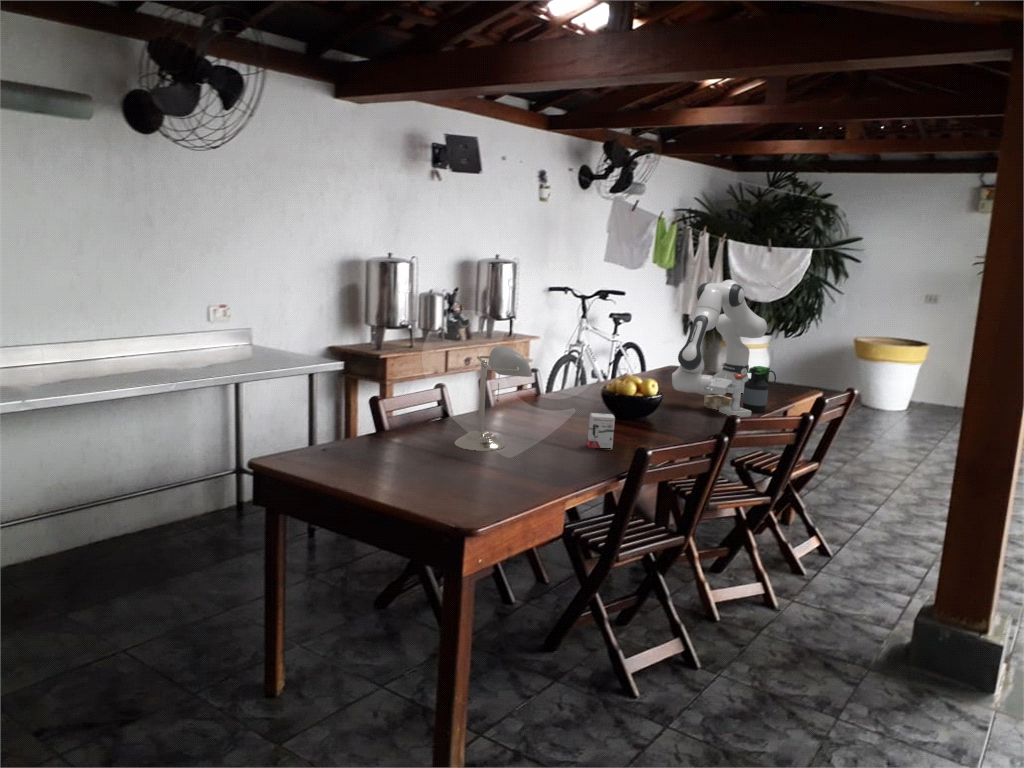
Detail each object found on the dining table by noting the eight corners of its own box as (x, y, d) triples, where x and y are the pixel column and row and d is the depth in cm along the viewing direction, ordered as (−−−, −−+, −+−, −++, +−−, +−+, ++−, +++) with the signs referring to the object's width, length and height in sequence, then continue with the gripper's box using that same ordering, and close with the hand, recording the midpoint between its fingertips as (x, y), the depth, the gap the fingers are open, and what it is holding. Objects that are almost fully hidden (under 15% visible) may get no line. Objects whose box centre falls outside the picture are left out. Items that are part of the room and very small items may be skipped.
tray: (718, 412, 353) (719, 407, 353) (735, 411, 357) (736, 406, 357) (733, 417, 345) (734, 412, 344) (750, 416, 349) (751, 410, 348)
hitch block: (703, 406, 365) (704, 395, 364) (719, 405, 369) (720, 394, 368) (716, 410, 357) (717, 399, 356) (732, 409, 361) (733, 398, 360)
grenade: (772, 410, 364) (778, 367, 360) (759, 414, 354) (764, 370, 350) (751, 406, 371) (755, 363, 367) (737, 410, 361) (742, 366, 357)
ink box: (588, 448, 282) (590, 416, 280) (587, 444, 287) (589, 412, 285) (612, 449, 282) (615, 417, 280) (611, 446, 287) (613, 414, 285)
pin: (727, 411, 352) (731, 373, 349) (735, 411, 354) (739, 373, 351) (734, 414, 348) (738, 375, 345) (742, 413, 350) (746, 375, 347)
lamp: (531, 454, 271) (537, 355, 264) (460, 454, 266) (464, 354, 259) (514, 434, 296) (520, 343, 290) (449, 434, 291) (453, 342, 284)
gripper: (703, 381, 344) (736, 385, 339) (712, 374, 362) (743, 378, 357) (702, 395, 345) (735, 400, 340) (711, 388, 364) (742, 392, 358)
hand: (739, 389), depth 348 cm, fingers open, 8 cm apart
